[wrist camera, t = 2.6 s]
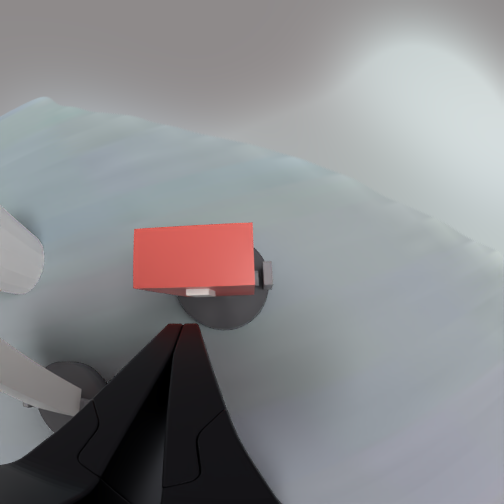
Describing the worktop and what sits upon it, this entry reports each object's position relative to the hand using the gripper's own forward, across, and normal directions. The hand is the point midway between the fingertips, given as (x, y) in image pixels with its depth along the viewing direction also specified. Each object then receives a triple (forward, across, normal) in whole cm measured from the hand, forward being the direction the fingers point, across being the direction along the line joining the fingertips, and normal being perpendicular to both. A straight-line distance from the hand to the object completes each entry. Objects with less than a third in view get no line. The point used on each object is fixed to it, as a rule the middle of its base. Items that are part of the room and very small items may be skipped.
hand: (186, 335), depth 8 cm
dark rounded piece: (+12, 0, +6) cm, 13 cm away
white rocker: (+4, +12, +11) cm, 16 cm away
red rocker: (+10, 0, +5) cm, 11 cm away
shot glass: (+14, +19, +5) cm, 24 cm away
